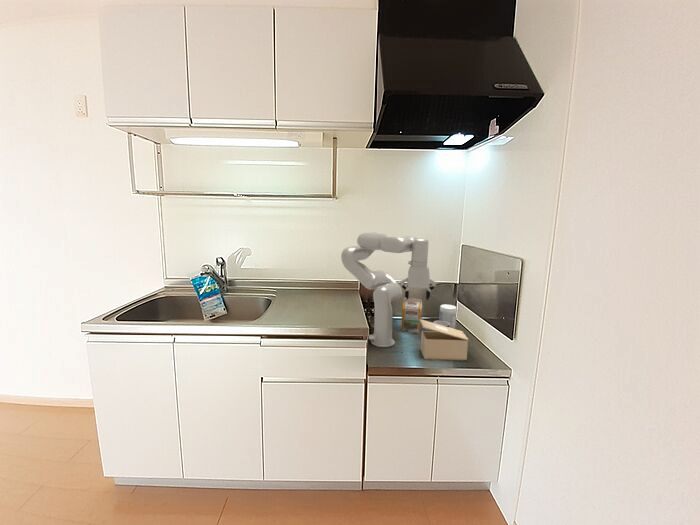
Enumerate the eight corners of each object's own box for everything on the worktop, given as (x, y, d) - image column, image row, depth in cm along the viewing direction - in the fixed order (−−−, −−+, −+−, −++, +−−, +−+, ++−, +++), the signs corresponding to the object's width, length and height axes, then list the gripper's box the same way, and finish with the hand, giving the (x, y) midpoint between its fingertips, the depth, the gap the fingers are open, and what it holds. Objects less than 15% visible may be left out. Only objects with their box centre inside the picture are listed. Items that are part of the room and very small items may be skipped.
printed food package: (401, 332, 199) (402, 300, 196) (403, 326, 209) (404, 296, 206) (419, 334, 196) (421, 302, 193) (421, 328, 206) (422, 297, 203)
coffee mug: (449, 344, 181) (450, 326, 180) (432, 343, 183) (433, 325, 181) (447, 336, 193) (448, 319, 191) (431, 335, 194) (432, 318, 193)
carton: (424, 359, 163) (425, 339, 162) (420, 349, 174) (421, 331, 172) (466, 360, 162) (468, 340, 161) (460, 350, 173) (461, 332, 172)
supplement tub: (435, 330, 203) (436, 306, 200) (443, 326, 209) (445, 303, 207) (449, 334, 196) (451, 309, 193) (458, 330, 202) (459, 306, 200)
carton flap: (423, 327, 161) (423, 326, 161) (419, 320, 172) (420, 318, 171) (468, 340, 161) (468, 339, 161) (461, 332, 172) (462, 330, 171)
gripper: (401, 265, 158) (400, 300, 161) (439, 266, 158) (436, 301, 161) (399, 262, 166) (398, 296, 169) (435, 263, 165) (433, 297, 168)
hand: (417, 298), depth 165 cm, fingers open, 9 cm apart
